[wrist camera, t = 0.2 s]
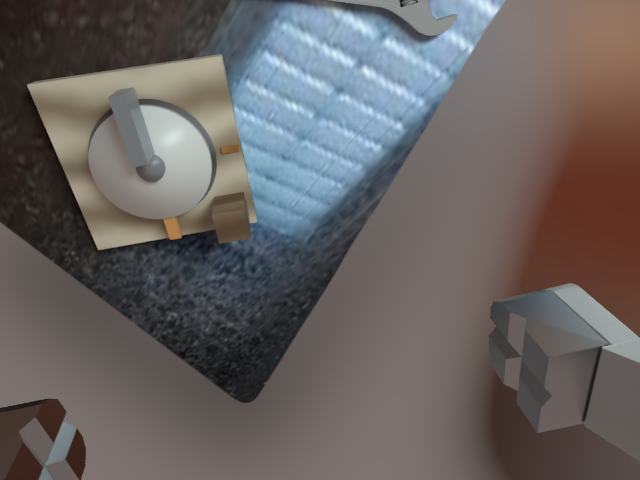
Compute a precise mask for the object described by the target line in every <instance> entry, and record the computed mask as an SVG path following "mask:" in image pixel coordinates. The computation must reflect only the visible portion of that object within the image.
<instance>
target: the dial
mask: <svg viewBox="0 0 640 480" xmlns="http://www.w3.org/2000/svg"><path fill="white" fill-rule="evenodd" d="M108 99H109V102H110V105H111V108H112V111H113V114H112V115H111V116H109V117H108V118H107V119H106V120H105V121H104V122H103V123H102V124H101V125H100V126H99V127H98V128H97V130H96V131H95V133H94V135H93V137H92V139H91V142H90V146H89V153H88V161H89V167H90V171H91V174H92V177H93V179H94V181H95V183H96V185H97V187H98V188H99V190H100V191H101V192H102V193H103V195H104V196H105V197H106V198H107V199H108V200H109V201H110V202H112V203H113V204H114V205H115V206H117V207H118V208H120V209H122V210H123V211H125V212H127V213H130V214H132V215H135V216H138V217H142V218H147V219H163V220H164V223H165V226H166V229H167V232H168V235H169V238H170V240H173V239H178V238H182V231H181V228H180V225H179V222H178V218H177V216H179V215H181V214H183V213H185V212H187V211H189V210H190V209H192V208H193V207H194V206H196V205H197V204H198V203H199V202H200V200H201V199H202V198H203V196H204V195H205V193H206V191H207V189H208V186H209V183H210V179H211V174H212V158H211V153H210V149H209V146H208V144H207V142H206V140H205V138H204V137H203V135H202V133H201V132H200V131H199V130H198V128H197V127H196V126H195V125H194V124H193V123H192V122H191V121H190V120H188V119H187V118H186V117H184V116H183V115H181V114H179V113H178V112H176V111H173V110H171V109H169V108H166V107H162V106H158V105H151V104H140V105H139V102H138V98H137V95H136V92H135V89H134V87H132V88H125V89H119V90H117V91H116V92H114V93H113V94H112V95H110V96H109V97H108Z"/></svg>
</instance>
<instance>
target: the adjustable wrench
mask: <svg viewBox="0 0 640 480" xmlns="http://www.w3.org/2000/svg"><path fill="white" fill-rule="evenodd" d="M329 1H336V2H344V3H352V4H360V5H368V6H375V7H380V8H384V9H386V10H388V11H390V12H392V13H393V14H395V15H396V16H398V17H399V18H401V19H402V20H403V21H405V22H406V23H407V24H408V25H409V26H410V27H411V28H413V29H414V30H415V31H416V32H418V33H420V34H424V35H428V36H434V35H439V34H441V33H443V32H445V31H446V30H448V29H449V28H450V27H451V26H452V25H453V24H454V22H455V21H456V19H457V15H456V14H452V15H449V16H446V17H442V18H439V19H436V18H435V17H434V16H433V15H432V13H431V12H430V11H429V3H428V0H402V2H400V1H399V0H329ZM400 4H403V6H401V7H400Z"/></svg>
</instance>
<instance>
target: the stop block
mask: <svg viewBox="0 0 640 480" xmlns="http://www.w3.org/2000/svg"><path fill="white" fill-rule="evenodd" d="M212 218H213V222H214V226H215V229H216V233H217V237H218V240H219V244H220V243H225V242H231V241H236V240H242V239H248V238H250V219H249V213H248V209H247V204H246V200H245V196H244V192H240V193H234V194H228V195H222V196H216V197H214V204H213V212H212Z"/></svg>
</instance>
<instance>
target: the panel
mask: <svg viewBox="0 0 640 480" xmlns="http://www.w3.org/2000/svg"><path fill="white" fill-rule="evenodd" d="M27 86H28V89H29V91H30V93H31V96H32V98H33V100H34V103H35V105H36V107H37V109H38V112H39V114H40V116H41V119H42V121H43V123H44V126H45V128H46V130H47V133H48V135H49V137H50V140H51V142H52V144H53V147H54V149H55V151H56V153H57V156H58V158H59V160H60V163H61V165H62V167H63V170H64V172H65V174H66V177H67V179H68V181H69V184H70V186H71V188H72V191H73V193H74V195H75V197H76V200H77V202H78V204H79V207H80V209H81V211H82V214H83V216H84V218H85V221H86V223H87V225H88V228H89V230H90V232H91V234H92V237H93V239H94V241H95V244H96V246H97V248H98V250H102V249H108V248H114V247H119V246H125V245H131V244H136V243H142V242H147V241H153V240H159V239H164V238H169V235H168V232H167V229H166V226H165V223H164V220H163V219H147V218H142V217H138V216H135V215H132V214H130V213H127V212H125V211H123V210H122V209H120V208H118V207H117V206H115V205H114V204H113V203H112V202H110V201H109V200H108V199H107V198H106V197H105V196H104V195H103V193H102V192H101V191H100V190H99V188H98V187H97V185H96V183H95V181H94V179H93V177H92V174H91V171H90V167H89V161H88V153H89V146H90V142H91V139H92V137H93V135H94V133H95V131H96V130H97V128H98V127H99V126H100V125H101V124H102V123H103V122H104V121H105V120H106V119H107V118H108V117H109V116H111V115H112V114H113V111H112V108H111V105H110V102H109V99H108V97H109V96H110V95H112V94H113V93H114V92H116V91H117V90H119V89H125V88H132V87H134V89H135V92H136V95H137V98H138V102H139V105H140V104H151V105H158V106H162V107H166V108H169V109H171V110H173V111H176V112H178V113H179V114H181V115H183V116H184V117H186V118H187V119H188V120H190V121H191V122H192V123H193V124H194V125H195V126H196V127H197V128H198V130H199V131H200V132H201V133H202V135H203V137H204V138H205V140H206V142H207V144H208V146H209V149H210V153H211V158H212V174H211V179H210V183H209V186H208V189H207V191H206V193H205V195H204V196H203V198H202V199H201V200H200V202H199V203H198V204H197V205H196V206H194V207H193V208H192V209H190V210H189V211H187V212H185V213H183V214H181V215H179V216H177V218H178V222H179V225H180V228H181V231H182V235H187V234H193V233H198V232H204V231H209V230H215V226H214V222H213V218H212V212H213V204H214V197H216V196H222V195H228V194H234V193H240V192H244V196H245V200H246V204H247V209H248V213H249V219H250V223H255V222H257V217H256V211H255V206H254V202H253V197H252V192H251V188H250V183H249V178H248V174H247V169H246V164H245V160H244V155H243V150H242V146H241V141H240V136H239V132H238V127H237V122H236V118H235V113H234V108H233V104H232V99H231V94H230V90H229V85H228V81H227V76H226V71H225V67H224V62H223V57H222V54H218V55H211V56H204V57H198V58H191V59H184V60H177V61H171V62H164V63H157V64H150V65H144V66H137V67H130V68H123V69H116V70H110V71H103V72H96V73H89V74H83V75H76V76H69V77H62V78H56V79H49V80H42V81H35V82H33V83H30V84H28V85H27Z"/></svg>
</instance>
